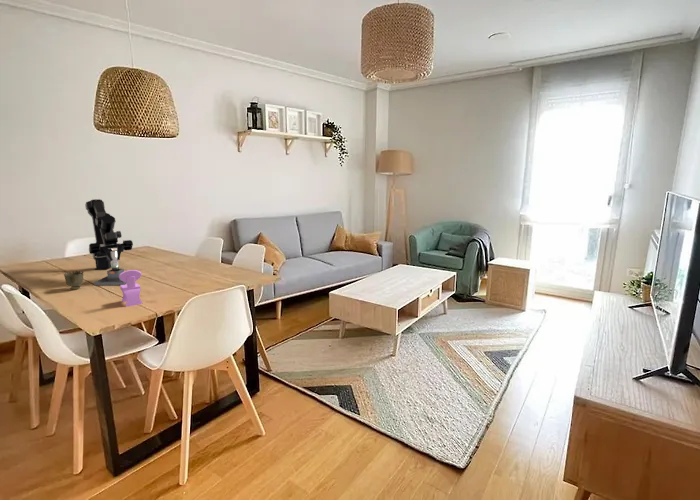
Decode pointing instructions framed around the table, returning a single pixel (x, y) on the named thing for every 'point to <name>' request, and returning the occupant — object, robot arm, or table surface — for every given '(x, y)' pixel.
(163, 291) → the table surface
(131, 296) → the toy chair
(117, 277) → the stand
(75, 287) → the cup
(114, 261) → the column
